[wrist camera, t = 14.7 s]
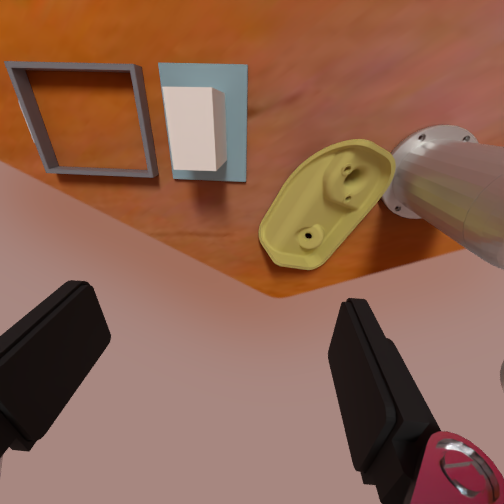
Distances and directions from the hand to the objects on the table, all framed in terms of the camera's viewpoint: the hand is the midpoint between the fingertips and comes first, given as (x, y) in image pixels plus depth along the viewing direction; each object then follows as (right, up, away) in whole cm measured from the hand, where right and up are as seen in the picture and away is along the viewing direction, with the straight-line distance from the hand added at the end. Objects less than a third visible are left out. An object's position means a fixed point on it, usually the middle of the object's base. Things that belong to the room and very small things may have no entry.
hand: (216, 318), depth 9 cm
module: (-5, +19, +24) cm, 31 cm away
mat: (-5, +20, +24) cm, 31 cm away
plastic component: (+12, +10, +29) cm, 33 cm away
